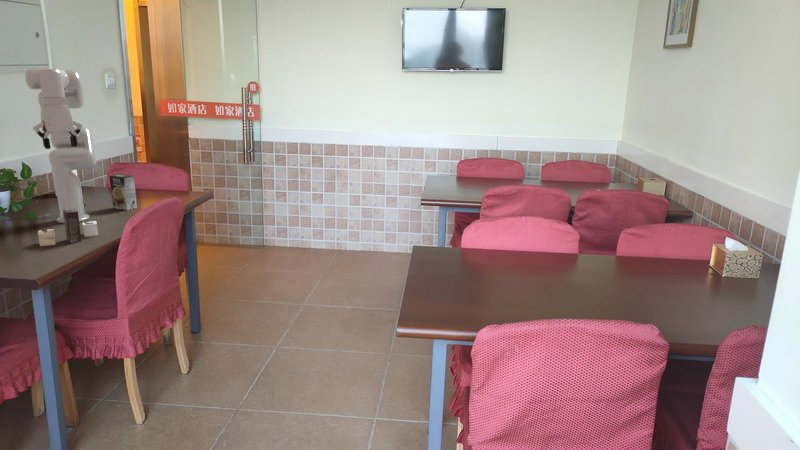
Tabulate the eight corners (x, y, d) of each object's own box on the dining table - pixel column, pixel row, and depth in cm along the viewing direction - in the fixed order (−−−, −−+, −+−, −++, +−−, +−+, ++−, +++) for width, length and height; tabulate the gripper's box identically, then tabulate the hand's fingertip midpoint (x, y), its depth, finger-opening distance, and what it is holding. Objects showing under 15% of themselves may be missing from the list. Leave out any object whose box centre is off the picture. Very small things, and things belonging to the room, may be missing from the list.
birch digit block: (40, 243, 222) (38, 229, 221) (55, 241, 225) (53, 228, 223) (40, 246, 218) (37, 233, 217) (55, 244, 220) (53, 231, 219)
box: (82, 241, 225) (78, 211, 222) (69, 243, 222) (65, 213, 219) (79, 237, 229) (74, 208, 226) (66, 239, 226) (61, 210, 223)
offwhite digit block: (84, 234, 234) (82, 221, 233) (97, 232, 237) (96, 220, 235) (84, 237, 230) (82, 224, 229) (98, 235, 233) (96, 223, 231)
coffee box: (112, 208, 276) (108, 175, 272) (123, 206, 282) (119, 173, 277) (127, 210, 273) (123, 176, 268) (137, 207, 278) (134, 174, 274)
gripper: (73, 101, 228) (79, 145, 232) (25, 103, 215) (32, 149, 219) (82, 101, 224) (88, 146, 228) (34, 103, 211) (41, 150, 215)
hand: (61, 147), depth 224 cm, fingers open, 9 cm apart
